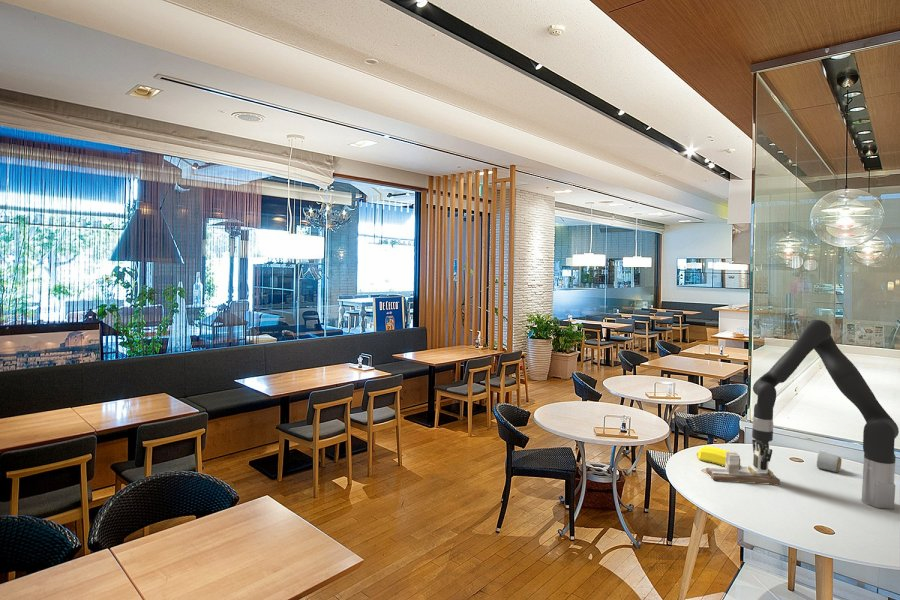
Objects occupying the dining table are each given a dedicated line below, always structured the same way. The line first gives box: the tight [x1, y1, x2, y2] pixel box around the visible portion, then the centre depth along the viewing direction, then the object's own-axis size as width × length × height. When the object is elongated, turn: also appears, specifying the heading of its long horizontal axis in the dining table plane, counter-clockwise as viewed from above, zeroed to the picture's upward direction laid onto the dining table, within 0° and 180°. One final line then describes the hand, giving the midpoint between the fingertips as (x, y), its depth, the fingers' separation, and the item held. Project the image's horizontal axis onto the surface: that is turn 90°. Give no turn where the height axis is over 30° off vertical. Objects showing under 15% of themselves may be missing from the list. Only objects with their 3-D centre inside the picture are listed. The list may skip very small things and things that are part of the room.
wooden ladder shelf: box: [705, 451, 781, 485], centre depth 220 cm, size 9×26×11 cm, turn 81°
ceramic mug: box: [816, 450, 842, 473], centre depth 231 cm, size 11×8×8 cm
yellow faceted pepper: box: [696, 445, 731, 467], centre depth 238 cm, size 18×7×8 cm
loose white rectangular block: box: [752, 450, 770, 472], centre depth 219 cm, size 4×4×8 cm
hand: (761, 467), depth 219 cm, fingers closed on loose white rectangular block, 4 cm apart
